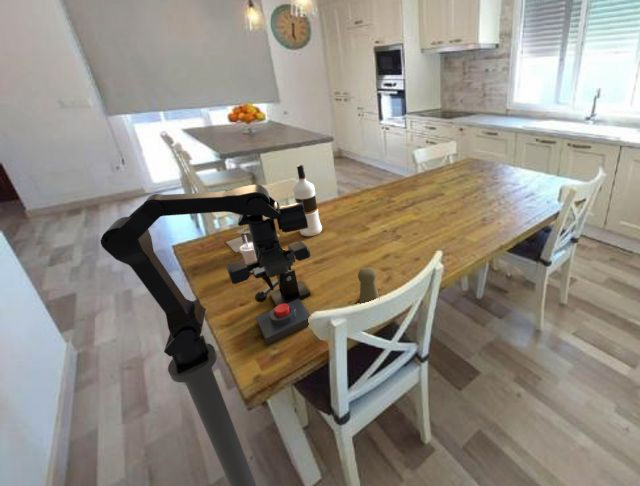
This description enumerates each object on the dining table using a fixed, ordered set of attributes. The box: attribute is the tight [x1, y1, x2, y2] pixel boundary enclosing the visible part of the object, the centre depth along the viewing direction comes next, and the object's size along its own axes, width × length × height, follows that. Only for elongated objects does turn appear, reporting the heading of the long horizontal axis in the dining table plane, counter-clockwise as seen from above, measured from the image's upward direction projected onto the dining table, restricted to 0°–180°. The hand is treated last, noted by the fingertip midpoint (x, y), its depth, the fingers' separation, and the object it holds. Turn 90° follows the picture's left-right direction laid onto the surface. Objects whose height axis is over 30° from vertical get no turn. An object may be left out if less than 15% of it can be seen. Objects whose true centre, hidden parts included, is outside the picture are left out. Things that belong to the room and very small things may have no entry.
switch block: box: [255, 299, 311, 345], centre depth 88 cm, size 12×10×4 cm
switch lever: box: [254, 270, 289, 303], centre depth 96 cm, size 12×3×3 cm, turn 128°
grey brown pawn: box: [357, 266, 380, 305], centre depth 95 cm, size 6×6×11 cm
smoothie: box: [239, 235, 257, 274], centre depth 110 cm, size 6×6×14 cm
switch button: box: [274, 304, 290, 317], centre depth 87 cm, size 4×4×2 cm
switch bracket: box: [268, 266, 311, 307], centre depth 98 cm, size 10×8×10 cm
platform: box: [225, 224, 281, 253], centre depth 133 cm, size 12×18×7 cm, turn 136°
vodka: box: [292, 164, 323, 237], centre depth 133 cm, size 9×9×30 cm
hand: (276, 288), depth 85 cm, fingers closed
